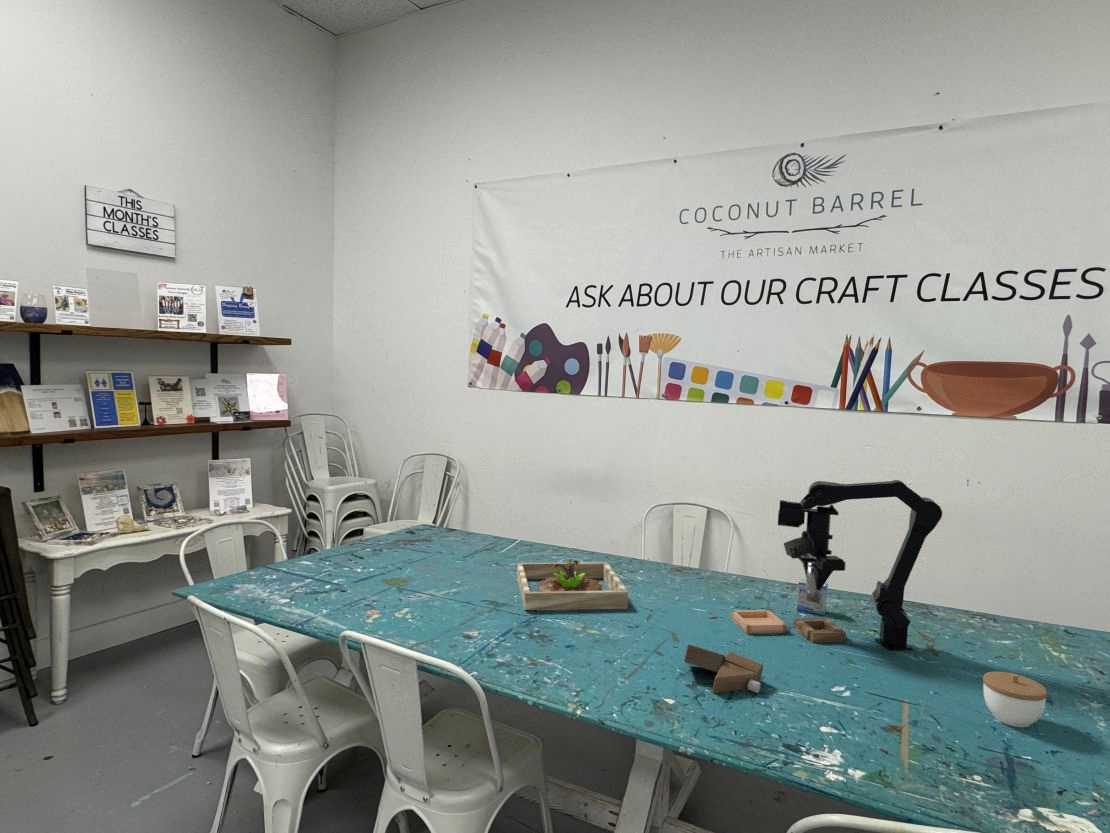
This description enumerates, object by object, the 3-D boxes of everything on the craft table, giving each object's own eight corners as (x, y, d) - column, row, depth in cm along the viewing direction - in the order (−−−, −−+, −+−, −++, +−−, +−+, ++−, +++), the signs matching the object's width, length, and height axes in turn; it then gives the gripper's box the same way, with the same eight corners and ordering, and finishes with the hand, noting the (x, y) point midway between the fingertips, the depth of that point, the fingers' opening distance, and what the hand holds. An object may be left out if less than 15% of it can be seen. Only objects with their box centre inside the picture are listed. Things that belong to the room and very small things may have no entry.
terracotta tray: (786, 633, 179) (786, 624, 179) (747, 634, 178) (747, 625, 178) (767, 617, 190) (768, 609, 190) (730, 618, 189) (731, 610, 189)
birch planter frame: (627, 608, 194) (628, 591, 194) (524, 610, 191) (525, 593, 190) (606, 576, 224) (606, 561, 224) (516, 577, 220) (517, 562, 220)
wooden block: (748, 717, 141) (669, 682, 150) (766, 686, 152) (691, 655, 161) (753, 687, 139) (673, 653, 148) (771, 657, 150) (696, 627, 159)
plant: (529, 600, 200) (530, 563, 199) (545, 580, 219) (546, 547, 218) (595, 607, 196) (596, 570, 195) (605, 587, 215) (606, 552, 214)
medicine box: (795, 610, 197) (797, 581, 196) (798, 606, 201) (799, 577, 200) (824, 616, 193) (826, 586, 192) (826, 611, 197) (827, 582, 196)
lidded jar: (1018, 706, 142) (1021, 663, 142) (1057, 734, 132) (1061, 687, 131) (968, 706, 142) (972, 663, 141) (1004, 733, 131) (1008, 687, 131)
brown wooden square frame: (846, 641, 175) (847, 632, 175) (810, 642, 173) (811, 633, 173) (826, 626, 185) (826, 617, 184) (792, 627, 183) (792, 618, 183)
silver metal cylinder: (824, 602, 177) (826, 565, 176) (810, 602, 177) (812, 565, 176) (816, 597, 181) (818, 561, 180) (802, 597, 181) (804, 561, 180)
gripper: (773, 521, 186) (769, 576, 187) (806, 538, 167) (803, 599, 168) (810, 521, 187) (807, 576, 188) (848, 538, 169) (844, 599, 170)
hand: (814, 587), depth 179 cm, fingers closed on silver metal cylinder, 4 cm apart
